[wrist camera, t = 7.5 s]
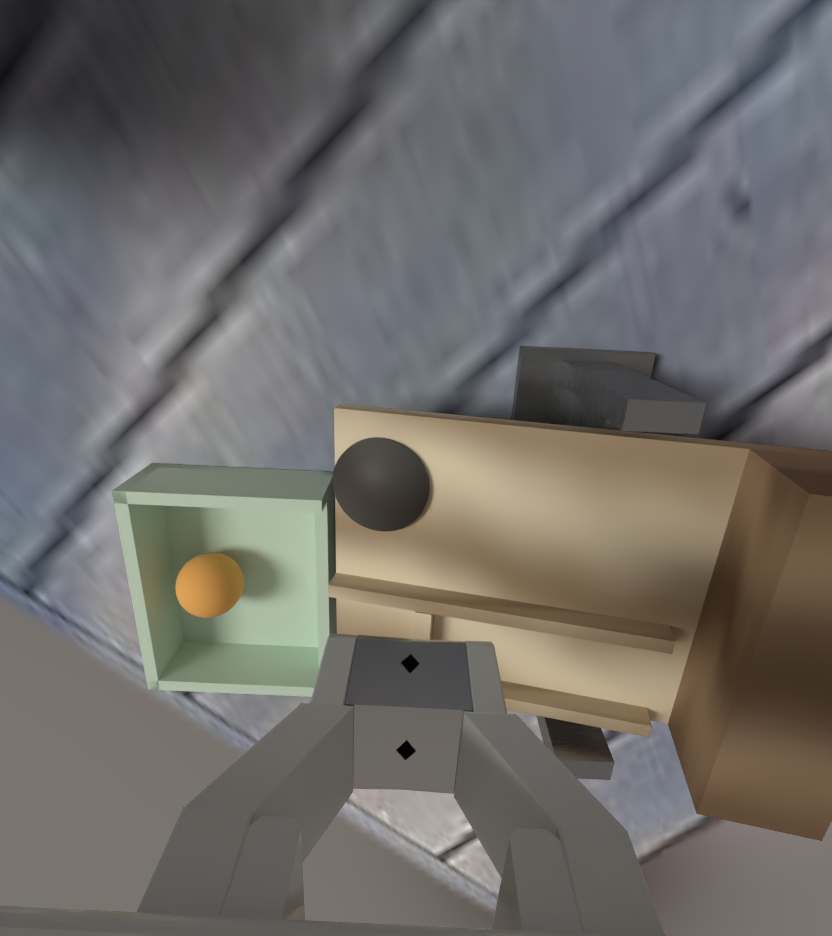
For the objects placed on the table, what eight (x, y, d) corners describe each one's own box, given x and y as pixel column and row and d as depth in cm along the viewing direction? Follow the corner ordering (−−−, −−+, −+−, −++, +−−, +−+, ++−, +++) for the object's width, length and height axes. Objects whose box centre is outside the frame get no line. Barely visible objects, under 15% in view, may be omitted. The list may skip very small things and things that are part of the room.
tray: (151, 463, 25) (111, 490, 22) (334, 471, 25) (321, 500, 22) (178, 643, 29) (148, 689, 26) (336, 650, 29) (325, 697, 26)
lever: (341, 403, 21) (290, 436, 16) (867, 454, 17) (983, 513, 13) (342, 649, 25) (303, 728, 21) (761, 727, 22) (821, 840, 17)
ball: (200, 536, 27) (156, 567, 24) (254, 547, 26) (215, 580, 23) (206, 588, 28) (165, 623, 25) (258, 599, 27) (221, 637, 24)
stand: (520, 345, 23) (571, 381, 15) (650, 352, 23) (769, 391, 15) (484, 645, 29) (508, 783, 21) (588, 649, 29) (650, 789, 21)
